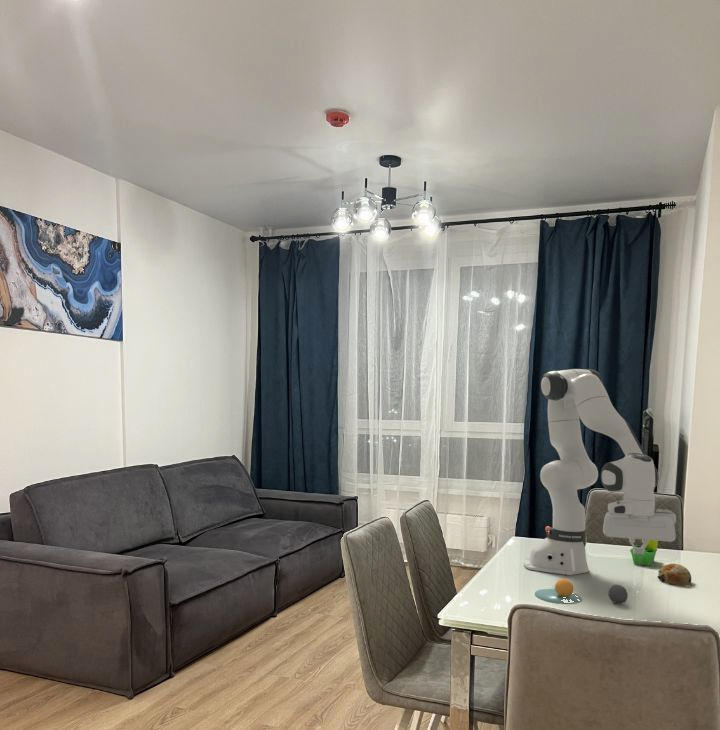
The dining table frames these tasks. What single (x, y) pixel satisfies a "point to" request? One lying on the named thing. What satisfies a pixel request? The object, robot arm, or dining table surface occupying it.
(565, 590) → the object ball
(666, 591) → the dining table surface
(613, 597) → the dark gray ball
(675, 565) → the bread roll
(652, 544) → the fruit basket
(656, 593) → the dining table surface
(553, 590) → the teal patterned plate
